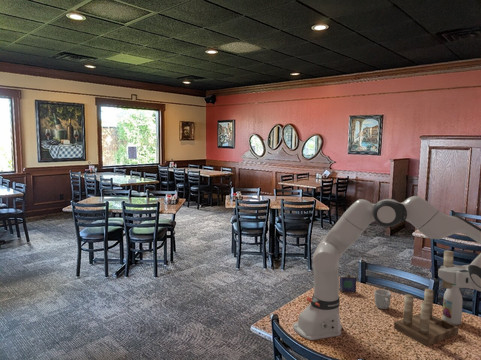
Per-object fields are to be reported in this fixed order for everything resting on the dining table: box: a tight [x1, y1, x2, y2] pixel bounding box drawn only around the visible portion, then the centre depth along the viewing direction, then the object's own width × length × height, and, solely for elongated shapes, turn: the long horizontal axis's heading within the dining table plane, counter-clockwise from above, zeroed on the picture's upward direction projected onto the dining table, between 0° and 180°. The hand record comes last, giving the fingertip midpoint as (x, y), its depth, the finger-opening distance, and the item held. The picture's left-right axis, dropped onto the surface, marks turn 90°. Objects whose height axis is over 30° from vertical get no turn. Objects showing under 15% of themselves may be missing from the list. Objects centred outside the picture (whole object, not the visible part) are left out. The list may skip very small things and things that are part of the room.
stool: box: [393, 288, 460, 347], centre depth 154 cm, size 22×16×16 cm
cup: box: [374, 288, 392, 310], centre depth 176 cm, size 11×8×8 cm
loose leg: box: [441, 250, 455, 290], centre depth 152 cm, size 4×4×16 cm
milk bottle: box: [441, 284, 463, 326], centre depth 163 cm, size 8×8×20 cm
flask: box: [339, 272, 357, 293], centre depth 197 cm, size 9×3×11 cm, turn 84°
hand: (446, 266), depth 153 cm, fingers closed on loose leg, 4 cm apart
